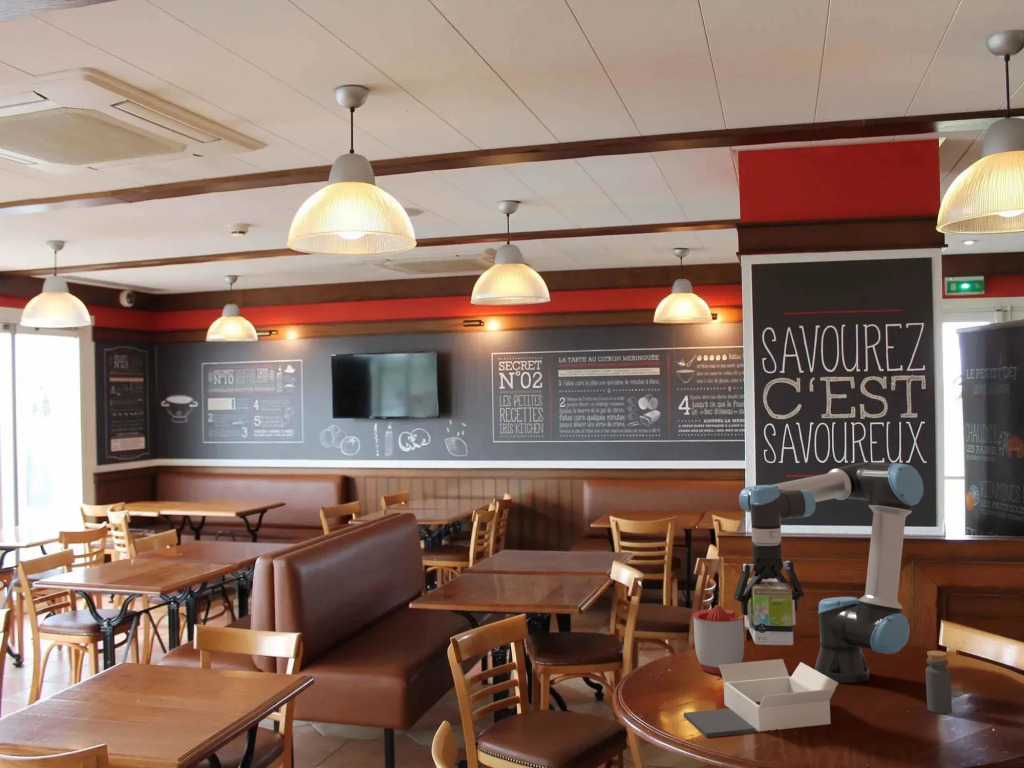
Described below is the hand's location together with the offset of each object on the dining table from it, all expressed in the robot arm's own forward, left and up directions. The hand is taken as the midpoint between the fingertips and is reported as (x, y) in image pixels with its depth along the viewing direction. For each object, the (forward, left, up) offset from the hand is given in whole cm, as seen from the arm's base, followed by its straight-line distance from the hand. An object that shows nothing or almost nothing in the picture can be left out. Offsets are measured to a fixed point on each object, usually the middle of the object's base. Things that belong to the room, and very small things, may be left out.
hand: (770, 625), depth 226 cm
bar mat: (+17, +3, -23) cm, 29 cm away
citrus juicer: (-4, -40, -24) cm, 47 cm away
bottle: (-43, +9, -24) cm, 49 cm away
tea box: (0, 0, -4) cm, 4 cm away
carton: (-2, 0, -23) cm, 23 cm away
